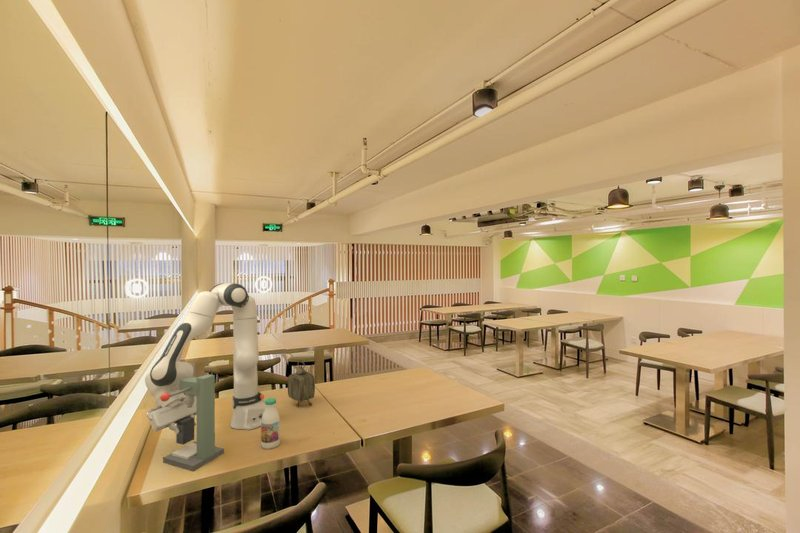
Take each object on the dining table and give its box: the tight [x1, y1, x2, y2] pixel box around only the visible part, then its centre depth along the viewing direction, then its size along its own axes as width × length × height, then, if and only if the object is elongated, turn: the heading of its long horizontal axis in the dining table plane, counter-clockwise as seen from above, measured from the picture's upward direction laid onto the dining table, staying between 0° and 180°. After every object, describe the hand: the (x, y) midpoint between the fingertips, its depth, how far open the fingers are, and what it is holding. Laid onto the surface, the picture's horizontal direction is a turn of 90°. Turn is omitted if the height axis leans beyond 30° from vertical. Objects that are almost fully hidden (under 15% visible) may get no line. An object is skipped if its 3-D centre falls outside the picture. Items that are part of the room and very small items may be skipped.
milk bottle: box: [260, 397, 281, 450], centre depth 152 cm, size 8×8×20 cm
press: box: [160, 374, 225, 472], centre depth 139 cm, size 17×22×34 cm
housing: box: [175, 416, 196, 446], centre depth 144 cm, size 5×4×9 cm
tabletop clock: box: [287, 360, 316, 407], centre depth 197 cm, size 14×9×25 cm, turn 49°
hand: (186, 429), depth 144 cm, fingers closed on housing, 5 cm apart
